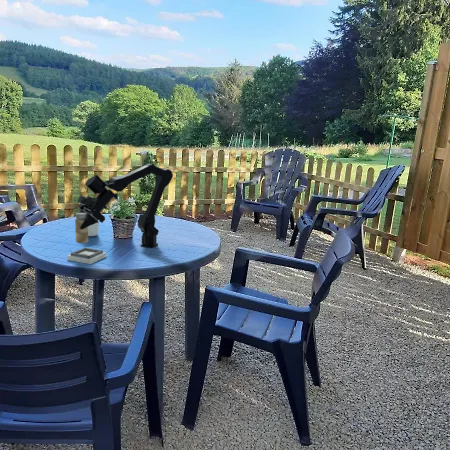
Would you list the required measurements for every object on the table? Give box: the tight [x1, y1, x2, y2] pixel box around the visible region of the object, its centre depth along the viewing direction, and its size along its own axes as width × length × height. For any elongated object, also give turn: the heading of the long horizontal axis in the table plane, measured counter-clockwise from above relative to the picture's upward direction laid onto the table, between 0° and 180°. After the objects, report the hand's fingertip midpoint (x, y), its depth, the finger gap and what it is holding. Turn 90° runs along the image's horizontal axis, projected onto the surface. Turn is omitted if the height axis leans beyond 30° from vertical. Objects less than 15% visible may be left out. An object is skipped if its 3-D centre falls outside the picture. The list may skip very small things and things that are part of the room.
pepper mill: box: [74, 212, 89, 244], centre depth 186 cm, size 5×5×12 cm
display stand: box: [66, 247, 107, 265], centre depth 186 cm, size 12×11×3 cm
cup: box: [88, 220, 100, 237], centre depth 219 cm, size 8×8×14 cm
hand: (78, 227), depth 185 cm, fingers closed on pepper mill, 5 cm apart
